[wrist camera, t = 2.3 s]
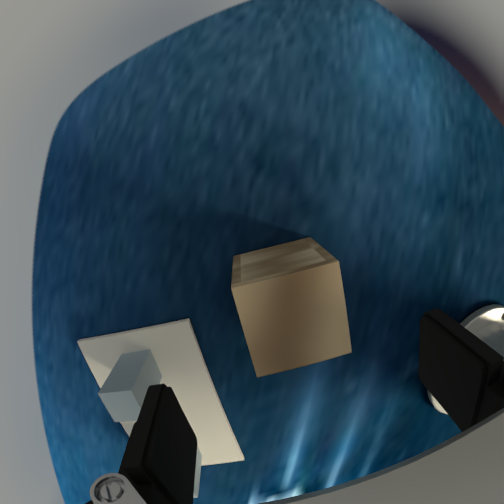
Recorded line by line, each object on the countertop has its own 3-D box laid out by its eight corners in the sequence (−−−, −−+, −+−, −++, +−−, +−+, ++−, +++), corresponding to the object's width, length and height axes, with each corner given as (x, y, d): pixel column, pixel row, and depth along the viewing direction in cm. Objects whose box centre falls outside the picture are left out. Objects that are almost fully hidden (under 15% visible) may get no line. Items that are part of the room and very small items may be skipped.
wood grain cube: (310, 237, 22) (338, 261, 15) (323, 307, 23) (351, 352, 17) (233, 256, 22) (231, 288, 15) (252, 325, 23) (257, 377, 17)
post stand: (189, 318, 23) (175, 359, 17) (244, 457, 26) (245, 502, 21) (78, 339, 23) (46, 376, 17) (151, 465, 26) (141, 506, 21)
